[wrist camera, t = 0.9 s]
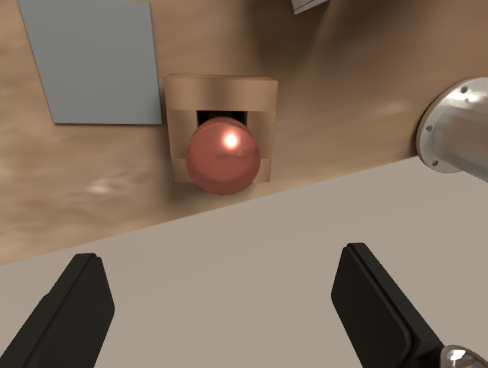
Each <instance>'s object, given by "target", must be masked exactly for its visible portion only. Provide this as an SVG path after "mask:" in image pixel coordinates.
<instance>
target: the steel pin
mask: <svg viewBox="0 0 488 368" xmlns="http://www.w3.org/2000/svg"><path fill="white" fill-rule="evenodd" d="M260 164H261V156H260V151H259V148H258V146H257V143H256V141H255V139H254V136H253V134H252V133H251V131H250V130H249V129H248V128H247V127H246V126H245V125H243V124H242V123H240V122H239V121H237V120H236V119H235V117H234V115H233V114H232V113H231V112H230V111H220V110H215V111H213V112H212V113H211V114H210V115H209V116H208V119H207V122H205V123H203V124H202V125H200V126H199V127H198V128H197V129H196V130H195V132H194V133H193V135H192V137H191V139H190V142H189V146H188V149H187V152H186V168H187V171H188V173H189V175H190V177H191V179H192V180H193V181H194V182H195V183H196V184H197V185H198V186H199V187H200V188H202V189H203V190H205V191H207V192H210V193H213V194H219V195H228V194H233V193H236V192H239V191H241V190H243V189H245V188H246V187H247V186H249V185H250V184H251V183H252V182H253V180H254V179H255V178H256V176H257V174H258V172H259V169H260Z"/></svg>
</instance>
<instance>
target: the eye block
mask: <svg viewBox="0 0 488 368" xmlns="http://www.w3.org/2000/svg"><path fill="white" fill-rule="evenodd" d="M163 81H164V91H165V101H166V112H167V122H168V132H169V142H170V153H171V163H172V173H173V183H195V182H194V181H193V180H192V179H191V177H190V175H189V173H188V171H187V168H186V152H187V149H188V146H189V142H190V139H191V137H192V135H193V133H194V132H195V130H196V129H197V128H198V127H199V126H200V110H220V111H243V125H245V126H246V127H247V128H248V129H249V130H250V131H251V133H252V134H253V136H254V139H255V141H256V143H257V146H258V148H259V151H260V156H261V164H260V169H259V172H258V174H257V176H256V178H255V179H254V180H253V182H270V171H271V159H272V148H273V137H274V125H275V114H276V103H277V92H278V81H277V80H275V79H273V78H270V77H254V76H222V75H189V74H170V75H168V76H166V77H164V78H163Z"/></svg>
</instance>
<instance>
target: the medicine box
mask: <svg viewBox="0 0 488 368" xmlns="http://www.w3.org/2000/svg"><path fill="white" fill-rule="evenodd" d="M291 1H292V5H293V9H294V14H295V15H296V14H298V13H300V12H303V11H305V10H307V9H310V8H312V7H314V6H317V5H319V4H321V3H323V2H325V1H327V0H291Z"/></svg>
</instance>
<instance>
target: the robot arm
mask: <svg viewBox="0 0 488 368" xmlns="http://www.w3.org/2000/svg"><path fill="white" fill-rule="evenodd" d="M416 149H417V154H418V156H419V158H420V160H421V161H422V162H423V163H424V164H425V165H427V166H428V167H430V168H431V169H433V170H436V171H438V172H443V173H455V172H460V171H465V172H467V173H469V174H471V175H473V176H475V177H477V178H479V179H481V180H483V181H485V182H487V183H488V77H475V78H470V79H467V80H464V81H461V82H459V83H457V84H456V85H454V86H452V87H450V88H449V89H448V90H446V91H445V92H444V93H442V94H441V95H440V96H439V97H438V98H437V99H436V100H435V101H434V102H433V103H432V104H431V106H430V107H429V108H428V110H427V111H426V113H425V114H424V116H423V118H422V120H421V122H420V125H419V127H418V130H417V135H416ZM331 299H332V302H333V305H334V307H335V309H336V311H337V313H338V315H339V318H340V319H341V322H342V324H343V326H344V328H345V330H346V332H347V335H348V337H349V339H350V341H351V343H352V345H353V347H354V349H355V352H356V354H357V356H358V358H359V360H360V362H361V365H362V367H363V368H488V362H487V361H486V360H485V359H483V358H482V357H481V356H480V355H478V354H477V353H475V352H473V351H471V350H469V349H467V348H465V347H462V346H457V345H448V346H444V345H443V344H442V342H441V341H440V340H439V338H438V337H437V335H436V334H435V333H434V332H433V330H432V329H431V328H430V327H429V325H428V324H427V323H426V321H425V320H424V319H423V317H422V316H421V315H420V314H419V312H418V311H417V310H416V309H415V308H414V306H413V305H412V303H411V302H410V301H409V300H408V298H407V297H406V296H405V294H404V293H403V292H402V291H401V289H400V288H399V287H398V286H397V284H396V283H395V282H394V280H393V279H392V278H391V276H390V275H389V274H388V273H387V271H386V270H385V269H384V268H383V266H382V265H381V264H380V262H379V261H378V260H377V259H376V257H375V256H374V255H373V254H372V252H371V251H370V250H369V248H368V247H367V246H366V245H365V244H364V243H349V244H347V246H346V247H344V248H343V250H342V254H341V258H340V261H339V265H338V269H337V273H336V276H335V280H334V284H333V288H332V292H331ZM114 311H115V306H114V302H113V299H112V295H111V291H110V288H109V284H108V281H107V277H106V274H105V270H104V267H103V263H102V259H101V258H100V257H97V256H96V254H94V253H83V254H76V255H75V256H74V257H73V258H72V260H71V261H70V263H69V264H68V266H67V267H66V269H65V270H64V271H63V273H62V274H61V276H60V277H59V279H58V280H57V282H56V283H55V285H54V286H53V287H52V289H51V290H50V292H49V293H48V294H47V295H45V296H44V297H43V298H42V299H41V301H40V302H39V304H38V305H37V306H36V308H35V309H34V311H33V312H32V314H31V315H30V316H29V318H28V319H27V320H26V322H25V323H24V325H23V326H22V328H21V329H20V330H19V332H18V333H17V335H16V336H15V338H14V339H13V340H12V342H11V343H10V345H9V346H8V347H7V349H6V350H5V352H4V353H3V355H2V356H1V358H0V368H94V366H95V363H96V360H97V358H98V355H99V353H100V350H101V347H102V344H103V342H104V340H105V337H106V334H107V332H108V329H109V326H110V324H111V321H112V319H113V316H114Z"/></svg>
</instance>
